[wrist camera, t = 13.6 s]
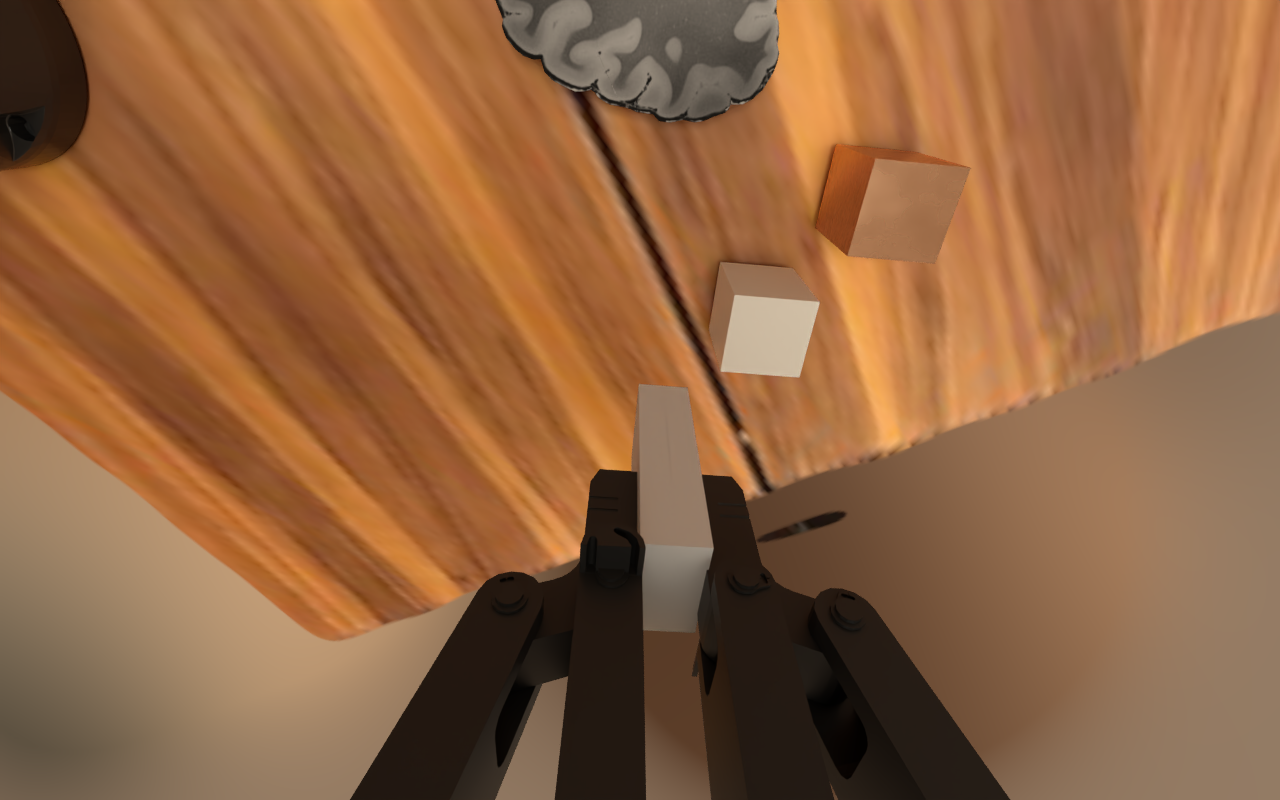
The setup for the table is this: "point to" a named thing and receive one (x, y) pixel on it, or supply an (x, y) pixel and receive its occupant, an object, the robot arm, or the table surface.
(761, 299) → the cream sugar cube
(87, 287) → the table surface
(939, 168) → the tan brown block
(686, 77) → the brain slice
